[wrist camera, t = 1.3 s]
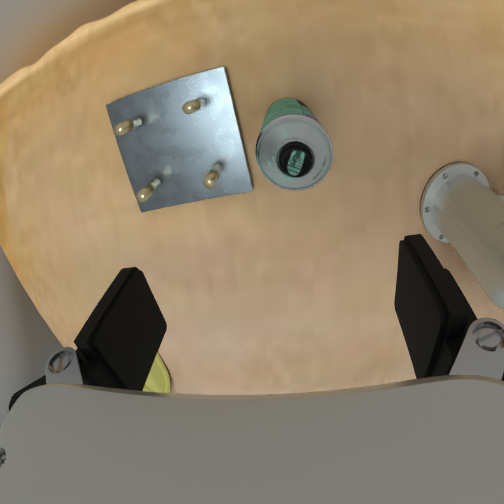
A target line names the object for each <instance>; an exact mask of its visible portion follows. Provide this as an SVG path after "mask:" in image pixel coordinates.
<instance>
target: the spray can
mask: <svg viewBox="0 0 504 504" xmlns="http://www.w3.org/2000/svg"><path fill="white" fill-rule="evenodd" d="M256 159H257V164H258V166H259V169H260V171H261V172H262V174H263V175H264V177H265V178H266V179H267V180H268V181H269V182H271V183H272V184H273V185H275V186H277V187H279V188H281V189H285V190H291V191H299V190H305V189H308V188H311V187H313V186H315V185H317V184H318V183H319V182H320V181H322V180H323V178H324V177H325V176H326V175H327V173H328V171H329V170H330V167H331V164H332V160H333V150H332V143H331V140H330V137H329V136H328V134H327V132H326V131H325V129H324V128H323V127H322V125H321V124H320V123H319V122H318V120H317V119H316V118H315V116H314V115H313V114H312V113H311V111H310V110H309V109H308V108H307V107H306V106H305V104H303V103H302V102H301V101H299V100H296V99H293V98H284V99H280V100H278V101H276V102H275V103H273V104H272V105H271V106H270V108H269V109H268V111H267V114H266V117H265V119H264V122H263V125H262V128H261V131H260V134H259V136H258V139H257V143H256Z"/></svg>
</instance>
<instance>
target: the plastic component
mask: <svg viewBox="0 0 504 504" xmlns="http://www.w3.org/2000/svg"><path fill="white" fill-rule="evenodd" d="M143 391H147V392H160V393H170V378H169V374H168V371H167V369H166V367H165V365H164V364H163V362H162V360H161V358H160V356H159V354H158V352H157V355H156V357H155V360H154V362H153V365H152V367H151V370H150V372H149V375H148V378H147V380H146V383H145V386H144V388H143Z"/></svg>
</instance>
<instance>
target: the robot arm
mask: <svg viewBox="0 0 504 504" xmlns="http://www.w3.org/2000/svg"><path fill="white" fill-rule="evenodd" d="M443 174H444V175H443ZM420 210H421V218H422V221H423V224H424V226H425V228H426V230H427V231H428V232H429V233H430V235H431V236H432V237H434V238H435V239H436V240H438V241H440V242H444V243H450V244H451V245H452V247H453V248H454V249H455V250H456V252H457V253H458V254H459V256H460V257H461V259H462V260H463V261H464V263H465V264H466V265H467V267H468V268H469V270H470V271H471V272H472V274H473V275H474V277H475V278H476V280H477V281H478V283H479V284H480V286H481V287H482V289H483V290H484V291H485V293H486V294H487V296H488V297H489V299H490V300H491V301H492V302H493V303H494V304H495V305H497V306H498V307H500V308H502V309H504V194H502V195H497V194H496V193H495V192H494V191H492V190H491V189H490V185H489V182H488V180H487V178H486V177H485V175H484V174H483V173H482V172H481V171H480V170H479V169H478V168H476V167H475V166H473V165H471V164H469V163H463V162H458V163H452V164H449V165H447V166H445V167H443V168H442V169H440V170H439V171H438V172H437V173H435V175H434V176H433V177H432V178H431V179H430V181H429V182H428V184H427V186H426V188H425V190H424V192H423V195H422V200H421V208H420ZM395 310H396V314H397V317H398V319H399V322H400V325H401V328H402V331H403V335H404V338H405V341H406V344H407V347H408V350H409V354H410V357H411V360H412V364H413V367H414V371H415V374H416V378H417V379H413V380H407V381H401V382H394V383H388V384H381V385H373V386H365V387H357V388H349V389H340V390H330V391H319V392H306V393H290V394H268V395H198V394H176V393H160V392H147V391H143V388H144V386H145V383H146V380H147V378H148V375H149V372H150V370H151V367H152V365H153V362H154V360H155V357H156V355H157V352H158V349H159V347H160V344H161V342H162V339H163V337H164V334H165V332H166V328H167V325H166V321H165V319H164V317H163V315H162V313H161V311H160V309H159V306H158V304H157V302H156V300H155V298H154V296H153V294H152V292H151V289H150V287H149V285H148V283H147V281H146V278H145V276H144V274H143V272H142V271H140V270H139V269H138V268H136V267H131V268H123V269H122V270H121V271H120V272H119V273H118V275H117V276H116V278H115V279H114V281H113V282H112V284H111V285H110V286H109V288H108V289H107V291H106V292H105V294H104V295H103V297H102V298H101V300H100V301H99V303H98V304H97V306H96V307H95V309H94V310H93V312H92V313H91V315H90V317H89V318H88V320H87V321H86V323H85V324H84V326H83V328H82V329H81V331H80V332H79V334H78V336H77V337H76V339H75V340H74V343H75V344H76V346H77V347H78V348H77V350H76V351H75V350H74V349H73V348H71V347H64V348H61V349H59V350H57V351H56V352H54V353H53V354H52V355H51V356H50V358H49V359H48V361H47V363H46V365H45V375H44V376H43V377H41V378H40V379H38V380H36V381H34V382H33V383H31V384H29V385H28V386H26V387H25V388H23V389H21V390H19V391H18V392H16V393H15V394H14V395H13V396H12V398H11V401H10V404H9V412H8V411H7V410H6V411H5V412H4V413H3V414H2V415H1V416H0V504H504V324H502V323H501V322H500V321H498V320H496V319H492V318H480V319H477V318H476V316H475V314H474V312H473V310H472V308H471V307H470V305H469V303H468V301H467V300H466V298H465V296H464V295H463V293H462V291H461V289H460V288H459V286H458V285H457V283H456V281H455V280H454V278H453V276H452V275H451V273H450V272H449V271H448V269H444V268H443V266H442V265H441V263H440V262H439V260H438V259H437V257H436V255H435V254H434V252H433V251H432V249H431V248H430V246H429V245H428V243H427V242H426V240H425V239H424V237H423V236H422V235H421V234H416V235H408V236H405V238H404V240H402V241H400V243H399V258H398V271H397V283H396V293H395Z"/></svg>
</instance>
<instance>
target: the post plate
mask: <svg viewBox="0 0 504 504" xmlns="http://www.w3.org/2000/svg"><path fill="white" fill-rule="evenodd" d="M106 107H107V111H108V114H109V117H110V121H111V124H112V127H113V131H114V134H115V137H116V140H117V144H118V147H119V150H120V153H121V156H122V159H123V162H124V165H125V168H126V171H127V174H128V177H129V180H130V182H131V185H132V188H133V191H134V194H135V196H136V199H137V202H138V205H139V207H140V210H141V212H146V211H150V210H155V209H160V208H164V207H169V206H174V205H179V204H184V203H189V202H195V201H200V200H205V199H210V198H216V197H221V196H227V195H233V194H238V193H244V192H250V191H253V188H254V186H253V182H252V177H251V173H250V169H249V164H248V160H247V155H246V151H245V147H244V142H243V138H242V134H241V129H240V125H239V121H238V117H237V112H236V108H235V104H234V100H233V95H232V91H231V87H230V83H229V79H228V74H227V70H226V67H221V68H217V69H213V70H209V71H205V72H201V73H198V74H194V75H190V76H187V77H184V78H180V79H177V80H174V81H170V82H167V83H164V84H161V85H158V86H155V87H152V88H149V89H146V90H144V91H141V92H138V93H135V94H133V95H130V96H127V97H125V98H122V99H120V100H117V101H115V102H112V103H110V104H107V105H106Z"/></svg>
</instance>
